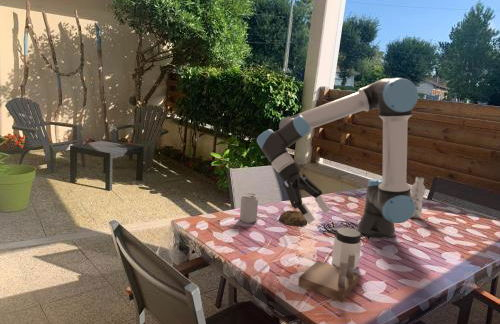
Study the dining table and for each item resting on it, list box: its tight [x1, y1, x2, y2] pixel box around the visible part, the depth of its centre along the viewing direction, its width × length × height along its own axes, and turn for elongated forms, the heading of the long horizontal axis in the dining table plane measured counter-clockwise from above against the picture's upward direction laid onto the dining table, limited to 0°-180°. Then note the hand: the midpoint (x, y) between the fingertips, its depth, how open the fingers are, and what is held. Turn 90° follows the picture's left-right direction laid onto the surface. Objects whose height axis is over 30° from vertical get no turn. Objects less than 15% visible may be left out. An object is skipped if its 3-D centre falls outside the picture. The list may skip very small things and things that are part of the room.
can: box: [239, 192, 259, 224], centre depth 166 cm, size 8×8×12 cm
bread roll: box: [278, 209, 308, 227], centre depth 170 cm, size 13×12×5 cm
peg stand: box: [298, 254, 360, 303], centre depth 116 cm, size 14×14×10 cm
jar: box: [331, 227, 363, 270], centre depth 129 cm, size 9×8×12 cm
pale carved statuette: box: [410, 176, 426, 219], centre depth 183 cm, size 6×7×20 cm
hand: (320, 216), depth 133 cm, fingers open, 13 cm apart
